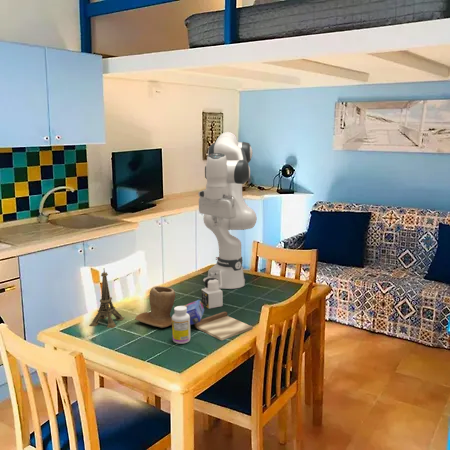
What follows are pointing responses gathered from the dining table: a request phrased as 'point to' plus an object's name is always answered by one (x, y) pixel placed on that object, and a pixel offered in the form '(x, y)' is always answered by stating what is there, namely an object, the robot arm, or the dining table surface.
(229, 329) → the oak board
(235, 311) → the dining table surface
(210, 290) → the medicine bottle
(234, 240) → the robot arm
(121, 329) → the dining table surface
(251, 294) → the dining table surface
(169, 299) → the brown boot planter
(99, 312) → the eiffel tower
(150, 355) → the dining table surface
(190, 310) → the ink cartridge box
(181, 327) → the supplement bottle
